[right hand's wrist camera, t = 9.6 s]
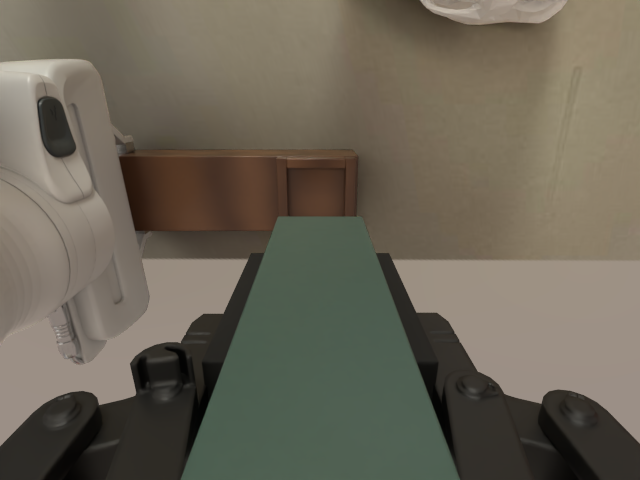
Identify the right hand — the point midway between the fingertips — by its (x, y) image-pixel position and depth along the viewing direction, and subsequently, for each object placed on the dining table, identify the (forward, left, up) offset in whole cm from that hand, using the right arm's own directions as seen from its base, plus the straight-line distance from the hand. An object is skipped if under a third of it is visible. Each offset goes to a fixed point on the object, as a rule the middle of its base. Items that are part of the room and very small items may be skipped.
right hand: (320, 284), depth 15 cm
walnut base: (-7, -5, -22) cm, 24 cm away
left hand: (-15, -9, -21) cm, 27 cm away
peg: (0, 0, -3) cm, 3 cm away
